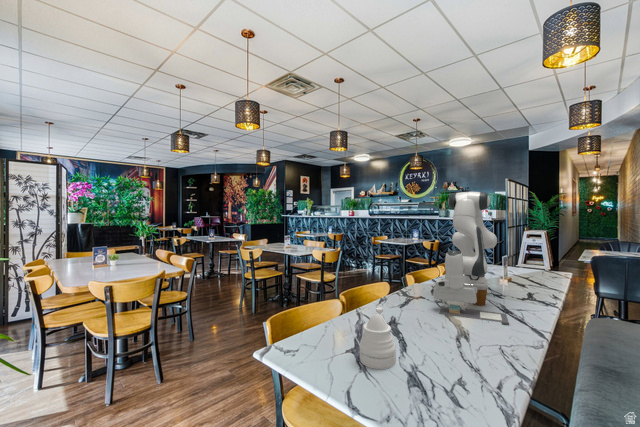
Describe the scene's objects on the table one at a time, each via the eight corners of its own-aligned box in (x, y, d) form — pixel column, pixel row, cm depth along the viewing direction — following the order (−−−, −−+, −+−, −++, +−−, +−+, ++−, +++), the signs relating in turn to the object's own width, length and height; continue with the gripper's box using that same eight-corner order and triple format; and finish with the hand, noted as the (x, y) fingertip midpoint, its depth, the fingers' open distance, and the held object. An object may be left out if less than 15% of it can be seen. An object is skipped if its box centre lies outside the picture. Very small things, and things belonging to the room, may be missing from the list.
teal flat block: (449, 308, 158) (449, 304, 158) (460, 310, 155) (460, 305, 155) (448, 312, 152) (448, 308, 151) (459, 314, 149) (459, 309, 149)
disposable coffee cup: (483, 303, 170) (483, 282, 169) (491, 308, 160) (491, 286, 160) (466, 302, 170) (465, 281, 170) (473, 308, 161) (472, 286, 161)
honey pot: (370, 348, 117) (370, 302, 117) (402, 358, 109) (401, 308, 108) (352, 361, 107) (352, 311, 107) (385, 373, 99) (384, 318, 98)
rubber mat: (441, 307, 163) (441, 305, 163) (506, 315, 149) (506, 313, 149) (438, 315, 150) (438, 313, 150) (508, 325, 137) (508, 323, 137)
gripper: (477, 283, 151) (477, 310, 151) (434, 279, 161) (434, 305, 161) (477, 286, 146) (477, 314, 146) (432, 282, 155) (433, 308, 155)
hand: (454, 309), depth 153 cm, fingers open, 7 cm apart
